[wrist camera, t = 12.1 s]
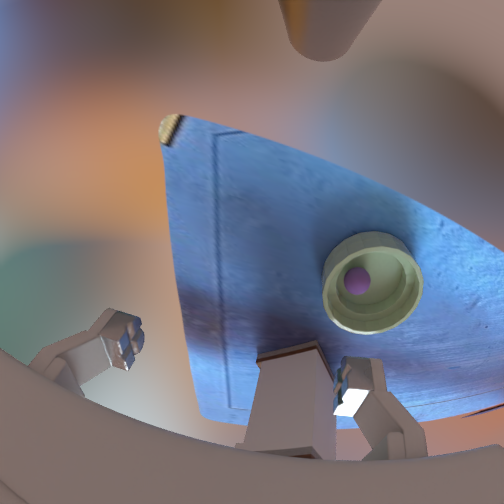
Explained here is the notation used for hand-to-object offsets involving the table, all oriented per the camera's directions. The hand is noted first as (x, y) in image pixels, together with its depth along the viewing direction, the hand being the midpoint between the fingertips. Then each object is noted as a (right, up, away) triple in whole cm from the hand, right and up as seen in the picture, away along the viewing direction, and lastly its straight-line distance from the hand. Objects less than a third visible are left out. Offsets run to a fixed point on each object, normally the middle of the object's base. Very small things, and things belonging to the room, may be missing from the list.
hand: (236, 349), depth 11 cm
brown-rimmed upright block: (+9, -17, +38) cm, 43 cm away
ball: (+14, 0, +26) cm, 29 cm away
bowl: (+17, +1, +28) cm, 32 cm away
